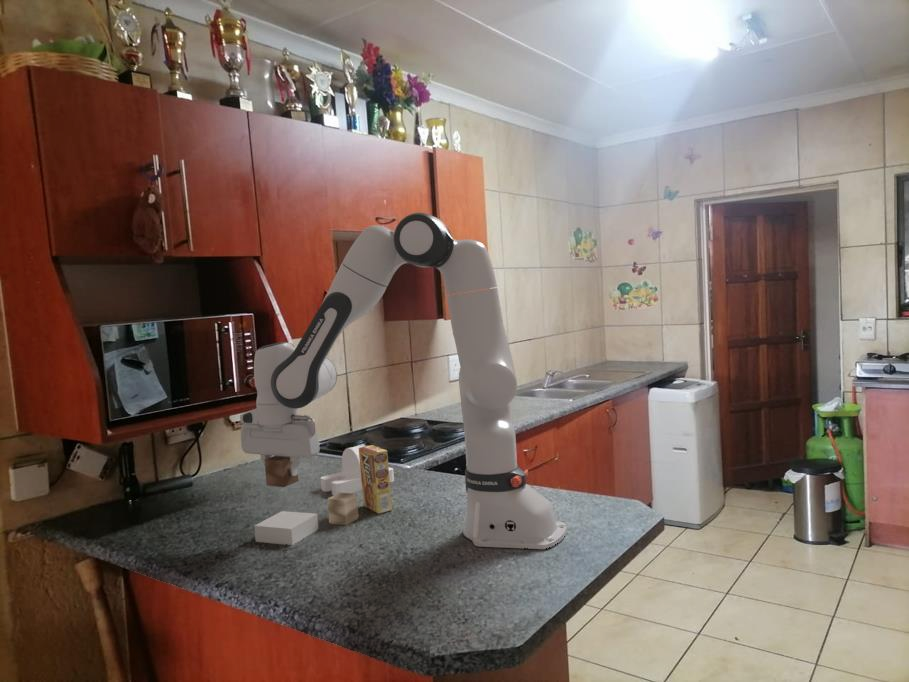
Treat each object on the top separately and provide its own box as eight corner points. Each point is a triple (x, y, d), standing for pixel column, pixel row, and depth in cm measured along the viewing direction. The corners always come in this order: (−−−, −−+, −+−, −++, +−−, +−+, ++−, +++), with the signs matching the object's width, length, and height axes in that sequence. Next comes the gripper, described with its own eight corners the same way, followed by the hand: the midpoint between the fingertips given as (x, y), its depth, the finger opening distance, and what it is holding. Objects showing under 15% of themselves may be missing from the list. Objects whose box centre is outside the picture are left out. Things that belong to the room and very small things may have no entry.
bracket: (337, 497, 176) (334, 456, 175) (320, 490, 183) (316, 451, 183) (395, 481, 188) (393, 443, 187) (376, 475, 195) (374, 438, 195)
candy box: (393, 510, 161) (388, 449, 160) (377, 514, 159) (373, 453, 158) (377, 502, 168) (372, 444, 167) (362, 506, 166) (357, 447, 165)
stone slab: (318, 530, 151) (317, 513, 151) (292, 546, 142) (291, 528, 142) (283, 527, 155) (281, 511, 155) (255, 543, 146) (254, 525, 146)
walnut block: (298, 481, 149) (296, 455, 148) (283, 487, 144) (281, 460, 144) (281, 479, 151) (279, 454, 151) (266, 485, 147) (264, 459, 146)
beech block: (358, 518, 157) (356, 494, 157) (346, 525, 153) (344, 500, 152) (341, 516, 159) (339, 492, 159) (329, 523, 155) (327, 498, 155)
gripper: (323, 413, 145) (327, 473, 146) (254, 410, 154) (258, 467, 155) (304, 418, 139) (309, 481, 140) (234, 415, 148) (238, 474, 149)
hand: (282, 474), depth 148 cm, fingers closed on walnut block, 5 cm apart
